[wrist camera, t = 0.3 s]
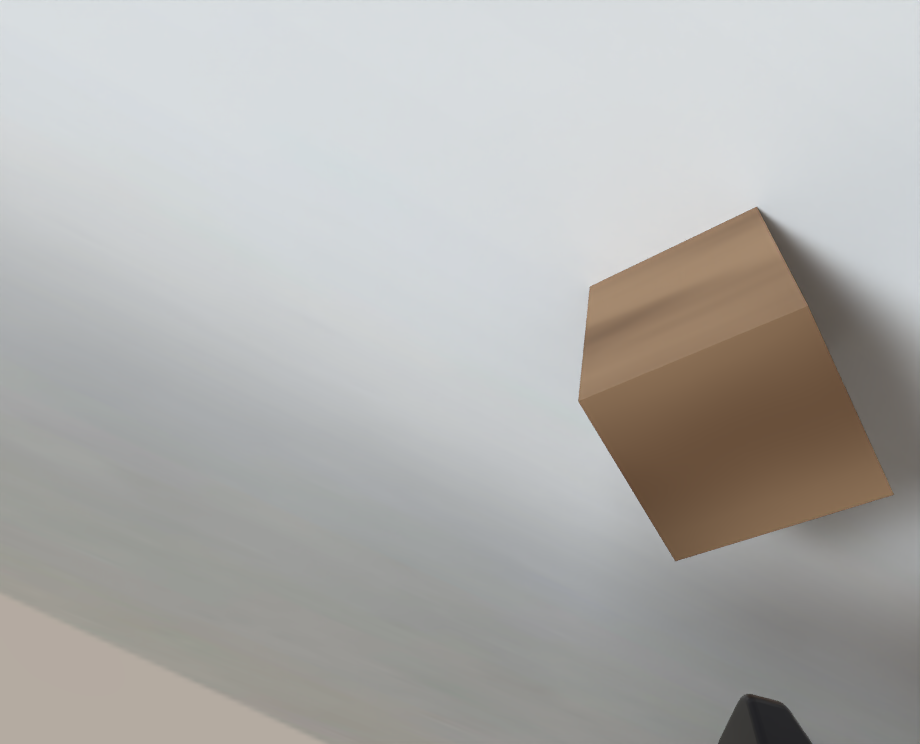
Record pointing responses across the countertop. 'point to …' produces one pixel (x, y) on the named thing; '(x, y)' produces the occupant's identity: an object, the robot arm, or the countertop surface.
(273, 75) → the countertop surface
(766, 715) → the robot arm
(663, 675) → the countertop surface
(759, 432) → the walnut block
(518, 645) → the countertop surface
